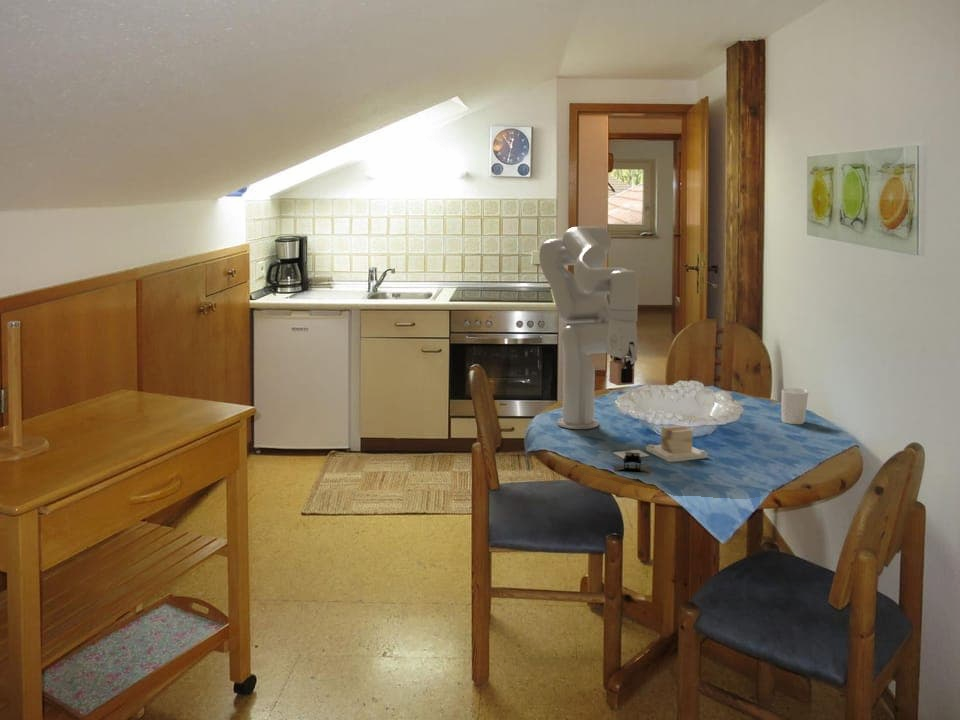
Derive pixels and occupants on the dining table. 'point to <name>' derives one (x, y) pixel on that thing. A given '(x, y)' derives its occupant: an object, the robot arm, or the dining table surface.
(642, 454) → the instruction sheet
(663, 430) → the beech brick
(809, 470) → the dining table surface
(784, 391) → the white cup
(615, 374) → the terracotta brick
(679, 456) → the plate
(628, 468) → the dark stepped block
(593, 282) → the robot arm
